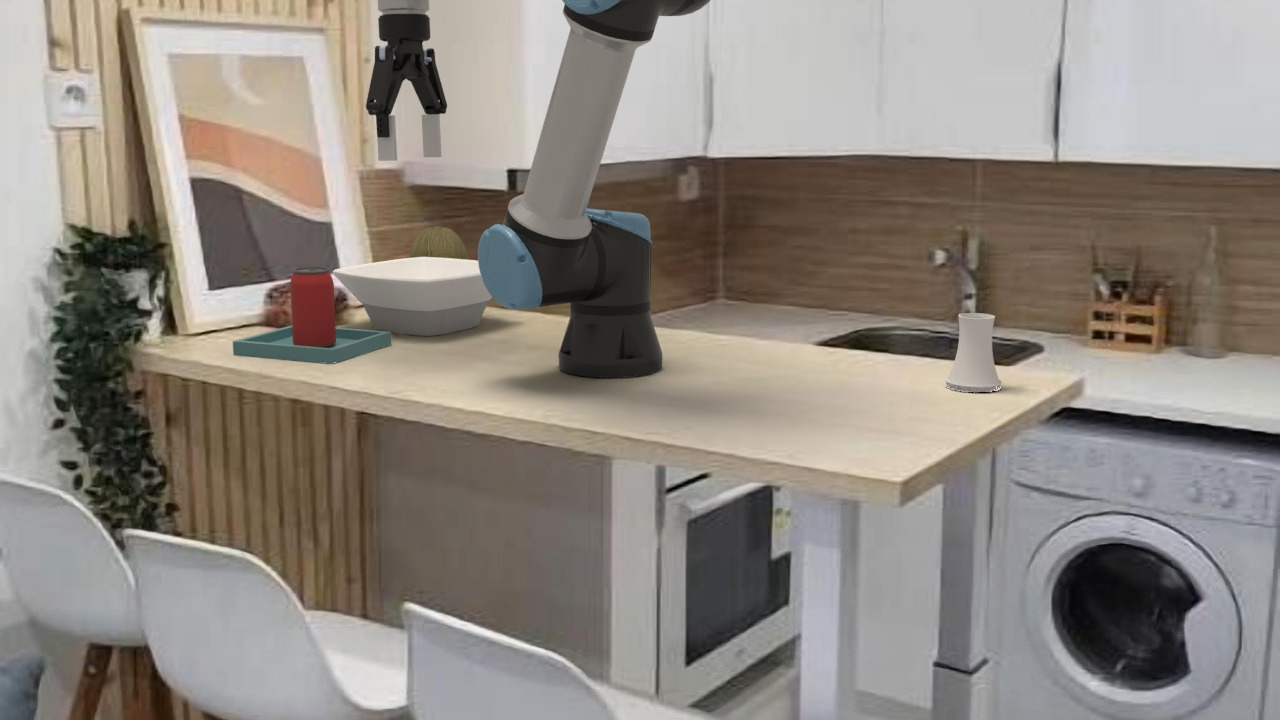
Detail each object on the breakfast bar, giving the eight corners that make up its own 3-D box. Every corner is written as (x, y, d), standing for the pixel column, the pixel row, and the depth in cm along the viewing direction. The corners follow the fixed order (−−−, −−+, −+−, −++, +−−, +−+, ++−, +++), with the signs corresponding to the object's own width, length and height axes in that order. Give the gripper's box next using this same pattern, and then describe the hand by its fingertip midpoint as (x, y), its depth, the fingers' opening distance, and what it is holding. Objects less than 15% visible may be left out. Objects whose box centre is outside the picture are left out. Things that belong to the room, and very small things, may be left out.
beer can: (325, 350, 211) (322, 272, 208) (285, 348, 212) (281, 271, 210) (343, 342, 217) (340, 266, 215) (304, 340, 218) (300, 265, 216)
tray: (391, 344, 218) (390, 331, 218) (333, 363, 204) (332, 349, 204) (296, 336, 225) (295, 324, 225) (233, 354, 210) (232, 341, 210)
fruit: (483, 305, 256) (481, 225, 253) (438, 313, 248) (436, 230, 245) (440, 299, 263) (438, 221, 260) (396, 306, 255) (393, 225, 252)
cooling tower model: (987, 380, 194) (991, 310, 192) (1010, 392, 186) (1014, 319, 184) (936, 382, 192) (939, 311, 190) (957, 394, 185) (961, 321, 183)
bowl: (321, 331, 231) (318, 270, 229) (425, 310, 251) (424, 254, 249) (427, 346, 217) (426, 282, 215) (529, 324, 238) (528, 265, 235)
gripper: (422, 19, 217) (428, 155, 221) (335, 9, 194) (344, 162, 198) (465, 17, 214) (470, 155, 218) (382, 7, 191) (390, 162, 195)
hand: (410, 159), depth 208 cm, fingers open, 13 cm apart
